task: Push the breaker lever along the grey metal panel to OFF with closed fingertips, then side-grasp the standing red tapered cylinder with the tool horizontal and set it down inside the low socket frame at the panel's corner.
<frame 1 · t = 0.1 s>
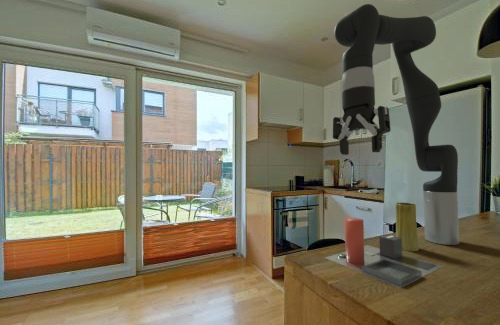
hand: (359, 153, 59), 29 cm above the worktop, tool pointing down, fingers open, 8 cm apart
breaker: (390, 245, 67), point 3 cm above the worktop, slide at 0.0 cm
red tapered cylinder: (354, 260, 63), point 1 cm above the worktop, touching panel
panel: (380, 264, 62), on the worktop
vase: (407, 250, 73), on the worktop
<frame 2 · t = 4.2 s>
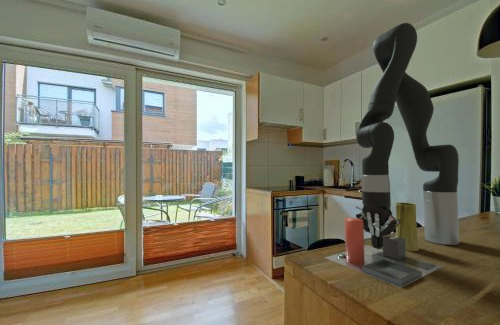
hand: (377, 248, 70), 2 cm above the worktop, tool pointing down, fingers closed
breaker: (394, 246, 66), point 3 cm above the worktop, slide at 1.0 cm, touching gripper
everything else where it was.
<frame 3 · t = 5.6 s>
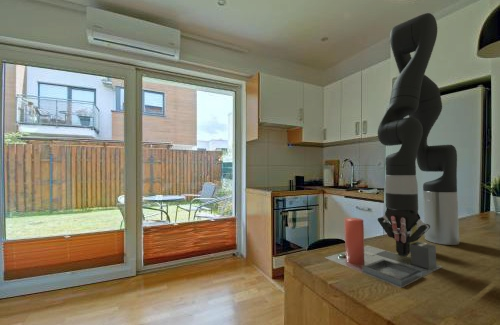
hand: (403, 255, 64), 2 cm above the worktop, tool pointing down, fingers closed
breaker: (423, 254, 60), point 3 cm above the worktop, slide at 8.1 cm, touching gripper
everything else where it was.
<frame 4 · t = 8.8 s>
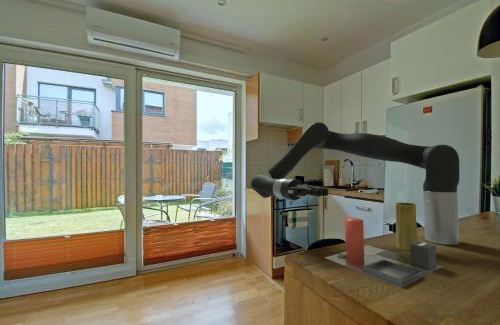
hand: (324, 192, 72), 18 cm above the worktop, tool horizontal, fingers closed
breaker: (422, 254, 60), point 3 cm above the worktop, slide at 8.0 cm
everything else where it was.
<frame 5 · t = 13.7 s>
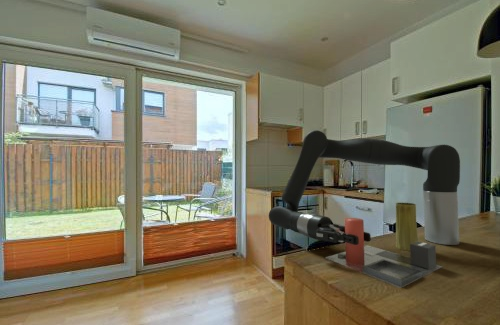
hand: (363, 239, 61), 7 cm above the worktop, tool horizontal, fingers closed on red tapered cylinder, 4 cm apart
red tapered cylinder: (355, 260, 63), point 1 cm above the worktop, touching gripper, panel
everything else where it was.
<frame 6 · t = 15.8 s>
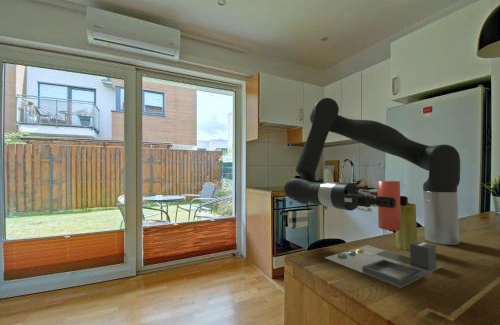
hand: (400, 202, 53), 18 cm above the worktop, tool horizontal, fingers closed on red tapered cylinder, 4 cm apart
red tapered cylinder: (389, 228, 55), point 11 cm above the worktop, touching gripper
everything else where it was.
when the fingers open (8 cm above the worktop, at t = 17.9 s): red tapered cylinder stays where it is, resting on panel.
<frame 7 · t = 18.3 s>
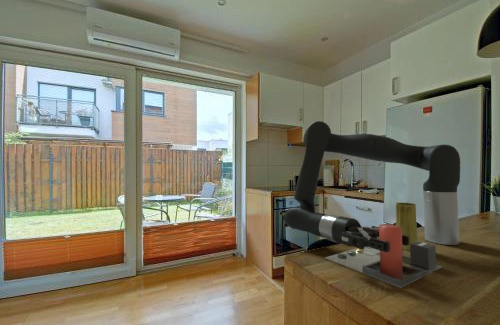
hand: (399, 244, 54), 8 cm above the worktop, tool horizontal, fingers open, 8 cm apart
red tapered cylinder: (391, 273, 55), point 1 cm above the worktop, touching panel
everything else where it was.
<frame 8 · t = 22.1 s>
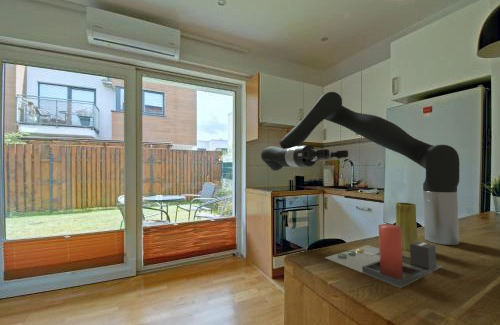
hand: (338, 153, 70), 30 cm above the worktop, tool horizontal, fingers open, 8 cm apart
nothing on the worktop moved.
at the end: breaker slide at 8.0 cm; red tapered cylinder 0.1 cm from the target spot on the panel, point 0.6 cm above the panel's base; red tapered cylinder tilted 0° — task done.
